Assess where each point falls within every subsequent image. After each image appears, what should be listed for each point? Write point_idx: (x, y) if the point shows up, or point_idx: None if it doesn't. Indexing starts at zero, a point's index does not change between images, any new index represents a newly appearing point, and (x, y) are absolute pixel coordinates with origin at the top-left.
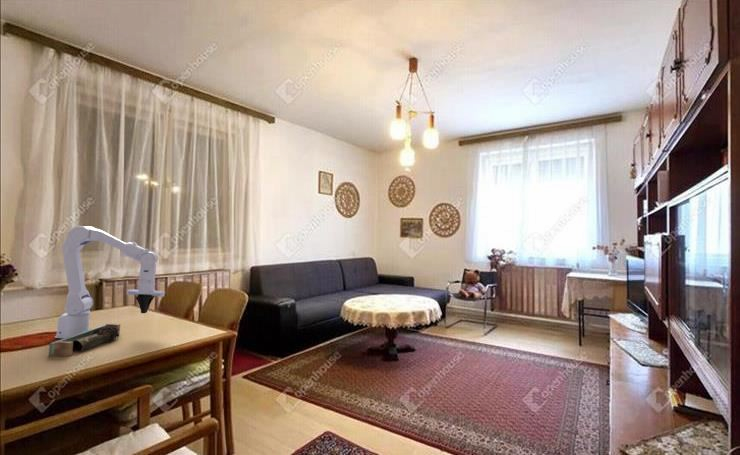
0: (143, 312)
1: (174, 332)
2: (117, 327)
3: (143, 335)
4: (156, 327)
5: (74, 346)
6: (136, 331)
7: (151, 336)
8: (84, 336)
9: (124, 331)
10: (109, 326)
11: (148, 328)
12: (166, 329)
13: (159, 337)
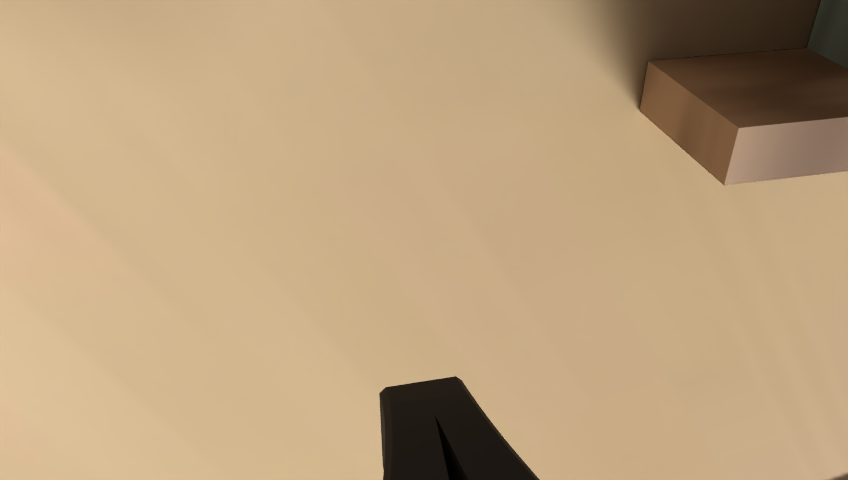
0: (400, 395)
1: (34, 404)
2: (719, 109)
3: (328, 175)
4: None
5: None
6: (515, 294)
7: (185, 164)
8: None
9: (645, 253)
10: (841, 100)
11: None
12: (233, 460)
13: (28, 151)
